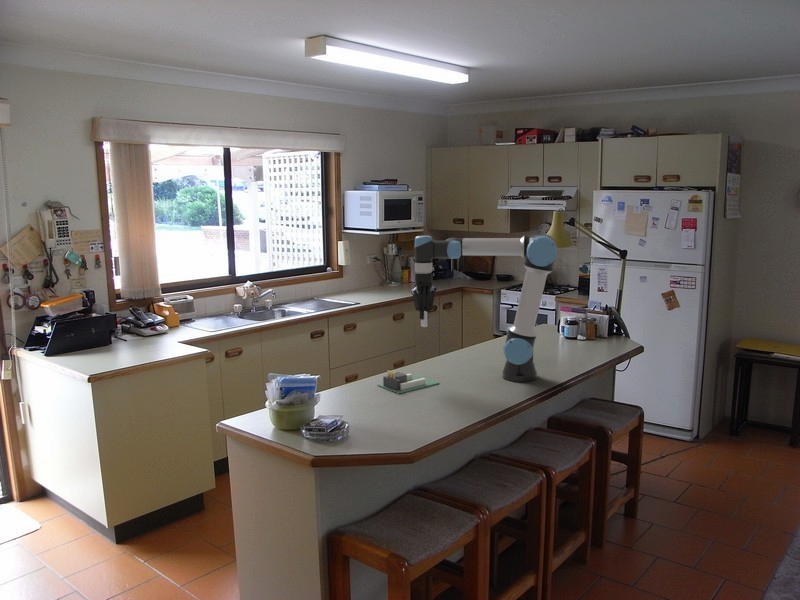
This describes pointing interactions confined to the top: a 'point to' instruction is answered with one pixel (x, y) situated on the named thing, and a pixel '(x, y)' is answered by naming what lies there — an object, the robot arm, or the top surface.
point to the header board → (427, 383)
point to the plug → (401, 377)
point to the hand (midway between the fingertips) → (424, 326)
